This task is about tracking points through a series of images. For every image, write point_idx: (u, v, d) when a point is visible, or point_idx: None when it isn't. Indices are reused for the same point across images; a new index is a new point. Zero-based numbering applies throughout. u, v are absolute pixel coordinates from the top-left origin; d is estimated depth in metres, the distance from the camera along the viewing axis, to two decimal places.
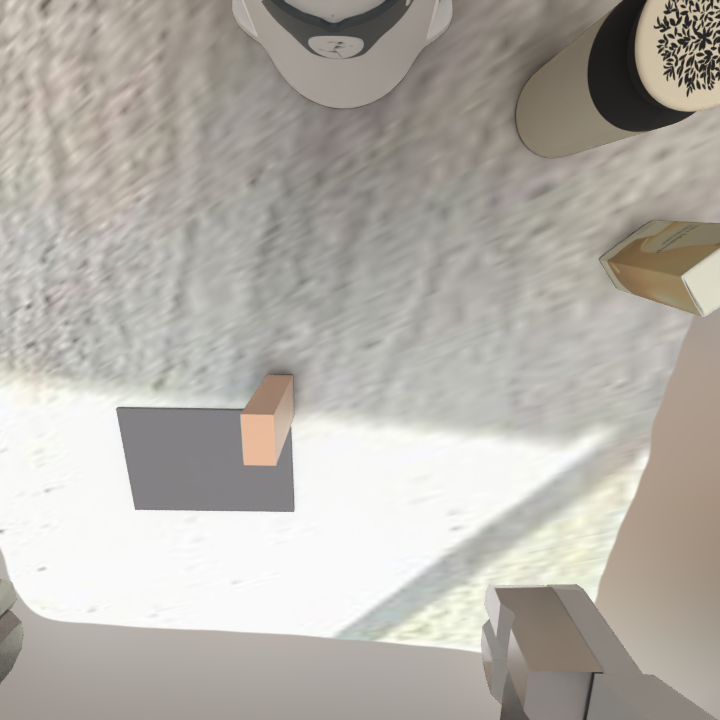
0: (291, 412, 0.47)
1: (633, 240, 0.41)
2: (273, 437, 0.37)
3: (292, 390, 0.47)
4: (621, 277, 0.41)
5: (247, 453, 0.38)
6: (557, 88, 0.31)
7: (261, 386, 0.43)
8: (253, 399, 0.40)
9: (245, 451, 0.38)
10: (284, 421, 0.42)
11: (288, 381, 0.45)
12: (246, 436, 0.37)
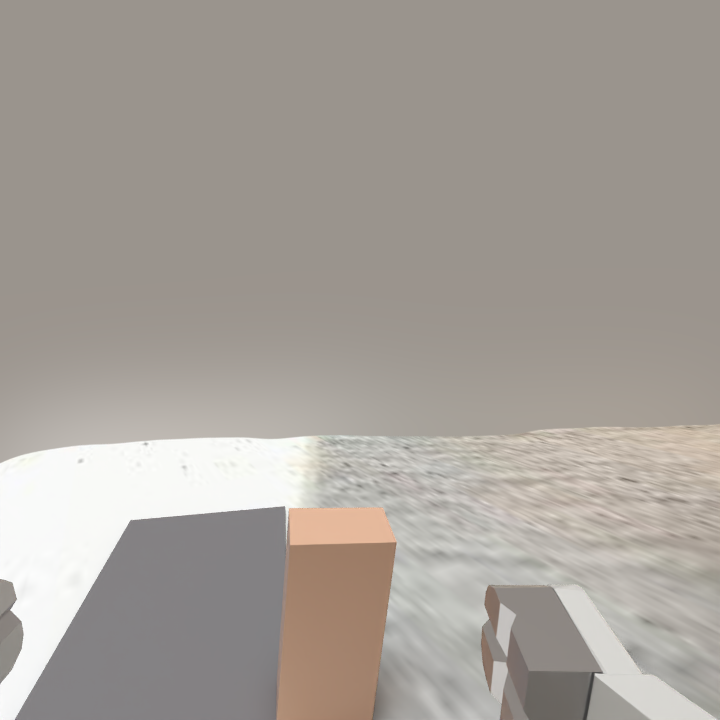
0: (302, 705, 0.21)
1: None
2: (351, 541, 0.20)
3: (342, 718, 0.22)
4: None
5: (312, 512, 0.22)
6: None
7: None
8: None
9: (316, 510, 0.22)
10: (327, 632, 0.20)
11: None
12: (345, 512, 0.22)
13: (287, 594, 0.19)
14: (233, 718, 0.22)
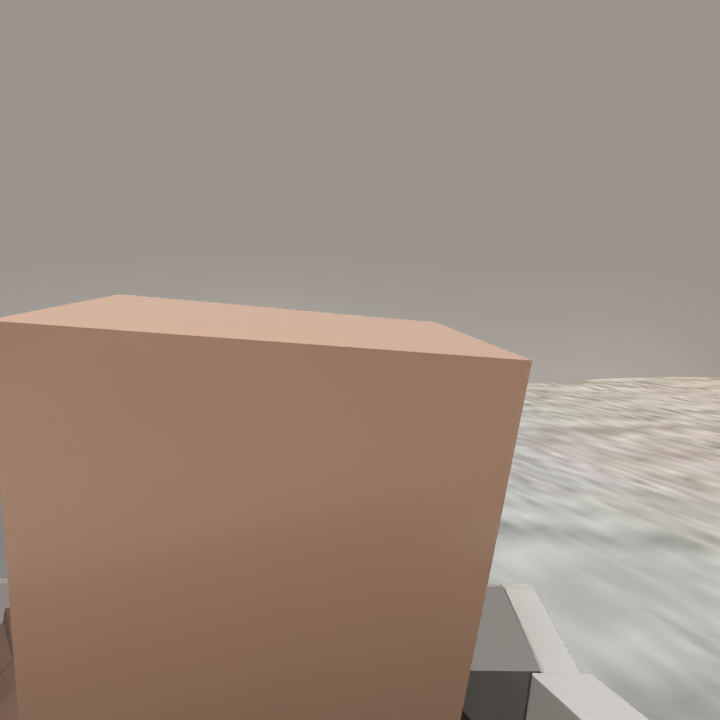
0: None
1: None
2: (325, 343, 0.04)
3: None
4: None
5: (198, 304, 0.06)
6: None
7: None
8: None
9: (213, 305, 0.06)
10: None
11: None
12: (314, 313, 0.06)
13: (14, 592, 0.04)
14: None
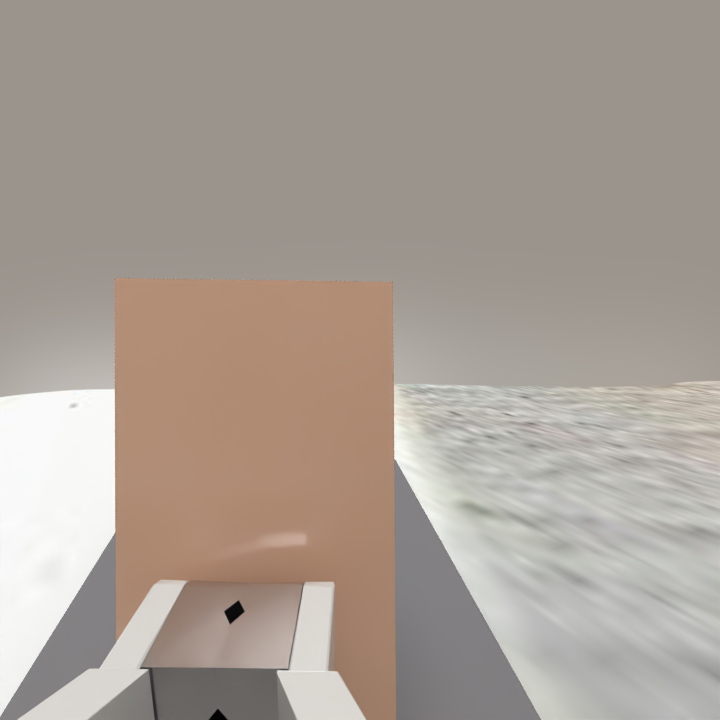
0: None
1: None
2: (276, 281, 0.08)
3: None
4: None
5: None
6: None
7: None
8: None
9: None
10: (237, 550, 0.08)
11: None
12: None
13: (118, 426, 0.07)
14: None
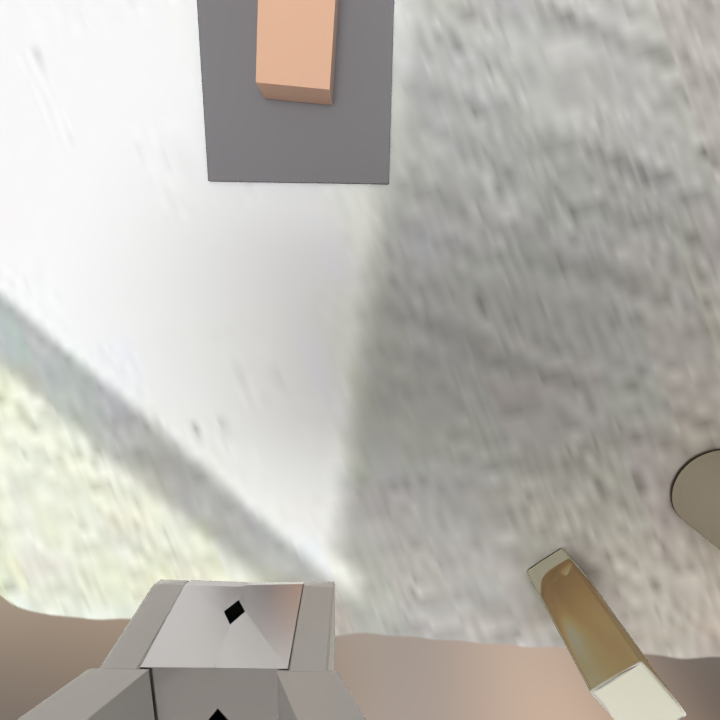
0: (274, 54, 0.28)
1: (588, 579, 0.39)
2: None
3: (306, 77, 0.28)
4: (557, 577, 0.38)
5: None
6: None
7: (335, 44, 0.30)
8: None
9: None
10: None
11: (332, 54, 0.28)
12: None
13: None
14: (352, 172, 0.32)
